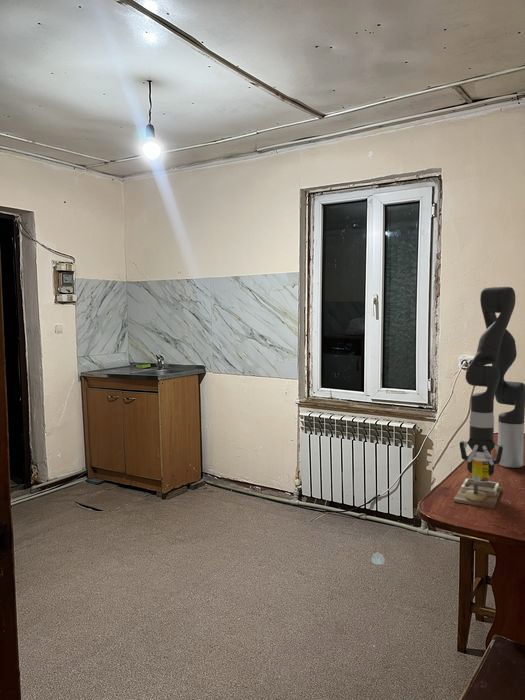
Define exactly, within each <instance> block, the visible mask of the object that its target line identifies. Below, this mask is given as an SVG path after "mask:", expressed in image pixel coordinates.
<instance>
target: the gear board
mask: <svg viewBox="0 0 525 700" xmlns="http://www.w3.org/2000/svg"><path fill="white" fill-rule="evenodd" d="M501 491H502V487H500V483H499V482H495V481H490V480H489V481H488V482H486V483H479V482H475V481H473V480H472V478H469V477H466V478H465V479H464V480H463V483H462V484H461V486H460V488H459V490H458V491H457V493H456V494H455V496H454V497H453V502H454V503H461V504H464V505H465V504H466V505H471V506H477V507H484V508H489V509H495V507H496V506H497V505H496V504H497V503H498V500H497V499H499V496H500V495H501Z"/></svg>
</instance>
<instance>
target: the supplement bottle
mask: <svg viewBox="0 0 525 700" xmlns="http://www.w3.org/2000/svg"><path fill="white" fill-rule="evenodd" d="M489 464H490V463H489V460H488V459H487V457H486V454H485V452H477V451H476V452H475V455H474V456H473V458H472V473H471V479H472V480H473V481H475V482H479V483H486V482H488V481H490V475H489Z"/></svg>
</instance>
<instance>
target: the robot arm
mask: <svg viewBox="0 0 525 700" xmlns="http://www.w3.org/2000/svg"><path fill="white" fill-rule="evenodd" d="M479 296H480V297H479V298H480V307H481V308H480V309H481V311H482V315H483V320H484V324H485V328H486V329H485V330H484V331H483V333H482V334H481V336H480V337H479V340H478V344H477V350H476V353H475V355H474V357H473V359H472V361H471V362H470V364H469V366H468V367H467V368H466V372H465V380H466V382H467V384H468V385H469V386H473V387H484V388H486V390H485V391H483V392H476V393H472V395H471V397H470V414H469V434H468V435H469V437H468V440H465V441H464V440H461V441H460V442H459V449H460V455H461V459H462V460H465V461H467V466H466V467H467V471H468V472H469V474H472V458H473V456H474V455H475V452H476V451H477V452H485V454H486V457H487V459H488V460H489V463H490V464H489V477H491V476H492V475H494V473H495V465H499V466H502V467H505V468H516V469H518V468H522V467H523V466H524V443H525V441H524V439H525V433H524V432H525V383H524V382H521V381H509V380H508V381H506V380H505V375H506V374H507V372H508V370H509V369H510V368H511V367H512V365H513V364H514V362H515V360H516V358H517V357H518V356H517V346H516V340H515V338H514V336H513V334H511V332H510V331H509V330H508V329H507V328H508V325H509V322H510V320H511V317H512V315H513V312H514V309H515V306H516V299H517V297H516V293H515V290H514V288H513V287H512V286H492V287H491V286H490V287H484V288H483V289H482V290H481V292H480V295H479ZM496 314H499V315H498V317H497V315H496ZM495 400H496V402H497V403H498V404H501V405H509V406H514V408H513V409H512V410H510V411H505V412H501V413H499V414H498V417H497V418H498V419H497V420H498V421H497V443H495V441H494V440H495V439H494V434H495V433H494V432H495V431H494V430H495V416H494V410H495V409H494V403H495ZM467 446H469V448H470V450H471V451H470V453H469V455H467V451H466V449H467ZM494 448H495V451H496V453H497V454H496V459H495V458H494V457H493V454H492V450H493V449H494Z"/></svg>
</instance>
